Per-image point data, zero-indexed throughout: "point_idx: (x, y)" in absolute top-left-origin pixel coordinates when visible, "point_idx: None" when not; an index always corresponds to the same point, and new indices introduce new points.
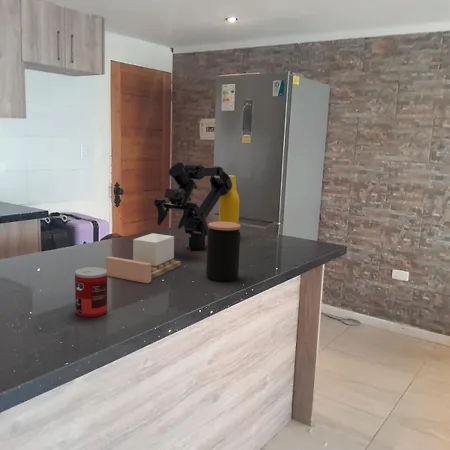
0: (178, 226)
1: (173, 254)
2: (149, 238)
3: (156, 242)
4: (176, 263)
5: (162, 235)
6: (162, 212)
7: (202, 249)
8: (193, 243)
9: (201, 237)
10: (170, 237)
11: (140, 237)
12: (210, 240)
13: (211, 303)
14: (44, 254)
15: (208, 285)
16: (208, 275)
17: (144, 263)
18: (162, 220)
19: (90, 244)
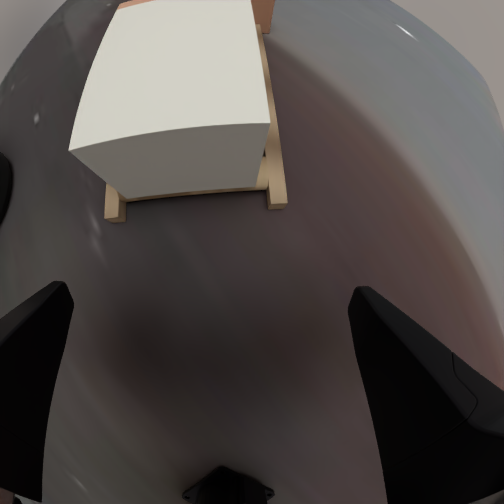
0: (55, 285)
1: (119, 190)
2: (187, 23)
3: (116, 12)
4: (107, 183)
5: (152, 111)
6: (444, 444)
7: (190, 488)
8: (223, 494)
9: None
10: (80, 109)
11: (246, 16)
12: None
13: (8, 70)
14: (494, 125)
15: (7, 124)
16: (2, 154)
17: (133, 2)
18: (371, 389)
19: None
